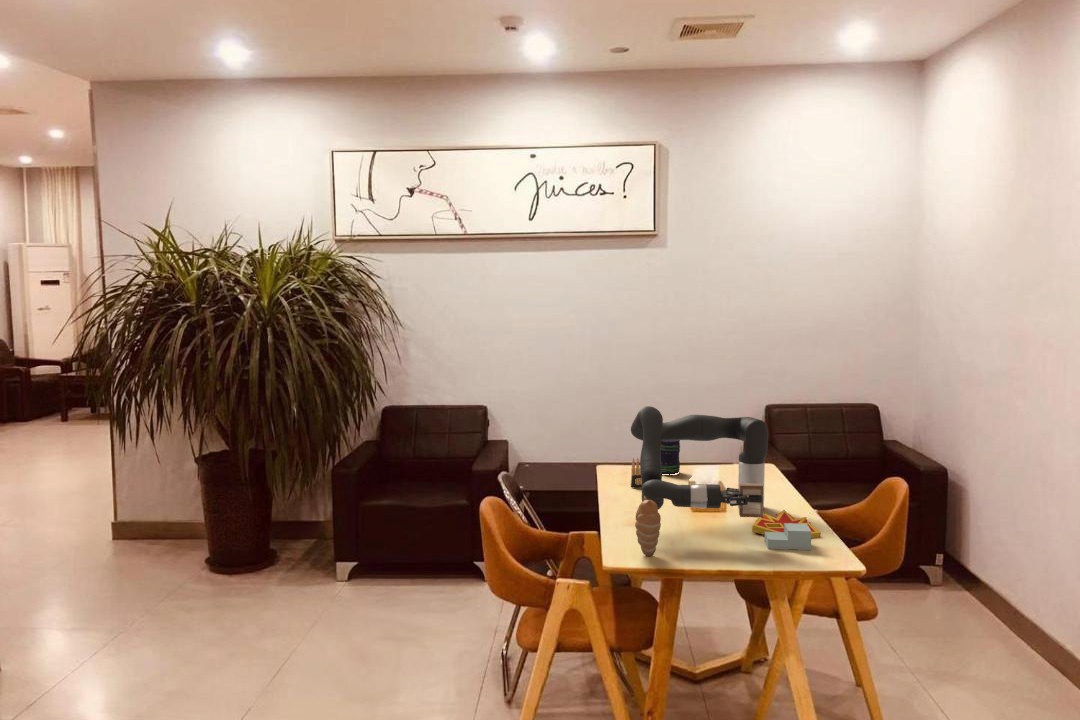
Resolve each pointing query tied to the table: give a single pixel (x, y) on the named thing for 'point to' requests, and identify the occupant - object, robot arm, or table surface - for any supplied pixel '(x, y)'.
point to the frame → (753, 507)
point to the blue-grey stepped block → (790, 537)
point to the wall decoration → (780, 523)
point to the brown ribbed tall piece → (648, 526)
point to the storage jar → (670, 456)
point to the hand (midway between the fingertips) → (760, 497)
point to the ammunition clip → (637, 475)
